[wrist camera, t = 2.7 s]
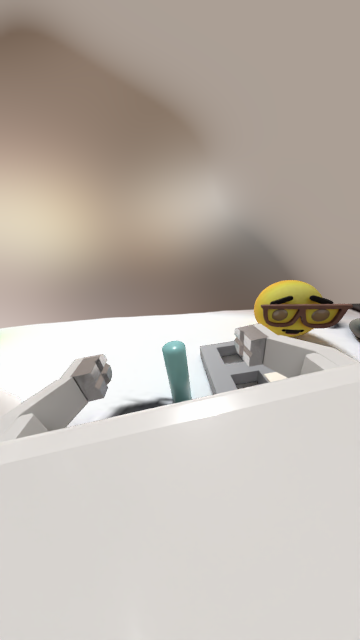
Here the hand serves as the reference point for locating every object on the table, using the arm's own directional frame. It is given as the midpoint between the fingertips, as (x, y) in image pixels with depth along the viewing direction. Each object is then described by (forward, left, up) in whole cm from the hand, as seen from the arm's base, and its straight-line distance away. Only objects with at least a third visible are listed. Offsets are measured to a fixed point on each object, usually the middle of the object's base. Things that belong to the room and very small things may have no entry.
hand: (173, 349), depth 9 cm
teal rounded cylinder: (+9, +7, -20) cm, 23 cm away
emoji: (+39, -9, -21) cm, 45 cm away
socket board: (+18, -2, -20) cm, 27 cm away
